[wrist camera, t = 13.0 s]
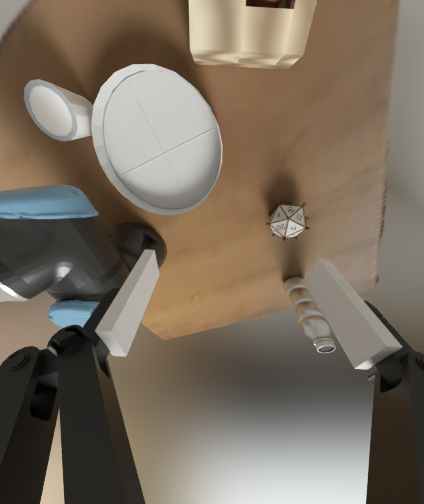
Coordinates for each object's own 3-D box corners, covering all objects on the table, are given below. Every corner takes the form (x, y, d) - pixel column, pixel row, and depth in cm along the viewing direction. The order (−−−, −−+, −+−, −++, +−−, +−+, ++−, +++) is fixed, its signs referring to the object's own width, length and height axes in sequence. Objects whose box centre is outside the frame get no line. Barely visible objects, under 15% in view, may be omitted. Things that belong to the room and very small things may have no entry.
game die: (275, 215, 43) (268, 249, 40) (265, 192, 37) (256, 231, 34) (315, 211, 38) (311, 251, 35) (311, 184, 31) (306, 230, 28)
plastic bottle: (287, 272, 50) (320, 340, 34) (308, 276, 50) (350, 344, 34) (278, 286, 54) (304, 353, 37) (297, 289, 54) (331, 357, 38)
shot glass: (84, 81, 27) (48, 68, 21) (111, 131, 31) (87, 132, 25) (52, 99, 28) (10, 91, 22) (82, 145, 32) (52, 148, 26)
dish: (151, 220, 41) (144, 229, 37) (79, 113, 29) (57, 111, 25) (237, 185, 36) (239, 192, 32) (191, 37, 24) (185, 18, 20)
